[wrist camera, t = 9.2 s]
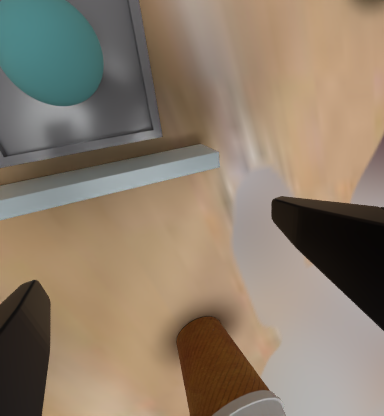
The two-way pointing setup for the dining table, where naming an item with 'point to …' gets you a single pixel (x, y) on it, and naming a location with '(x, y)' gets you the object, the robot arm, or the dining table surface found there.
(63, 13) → the ball
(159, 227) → the dining table surface
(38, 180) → the wall
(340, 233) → the robot arm
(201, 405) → the disposable coffee cup
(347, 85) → the dining table surface
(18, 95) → the dish
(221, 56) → the dining table surface
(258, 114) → the dining table surface
